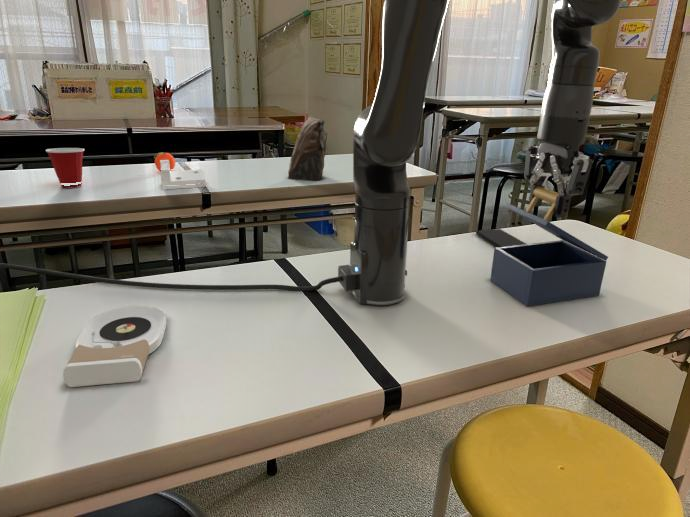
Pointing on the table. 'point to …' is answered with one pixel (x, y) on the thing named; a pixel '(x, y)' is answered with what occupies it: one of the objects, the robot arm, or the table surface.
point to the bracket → (180, 177)
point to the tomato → (164, 157)
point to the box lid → (551, 198)
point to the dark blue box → (547, 272)
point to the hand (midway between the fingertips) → (546, 210)
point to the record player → (115, 346)
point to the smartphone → (499, 238)
